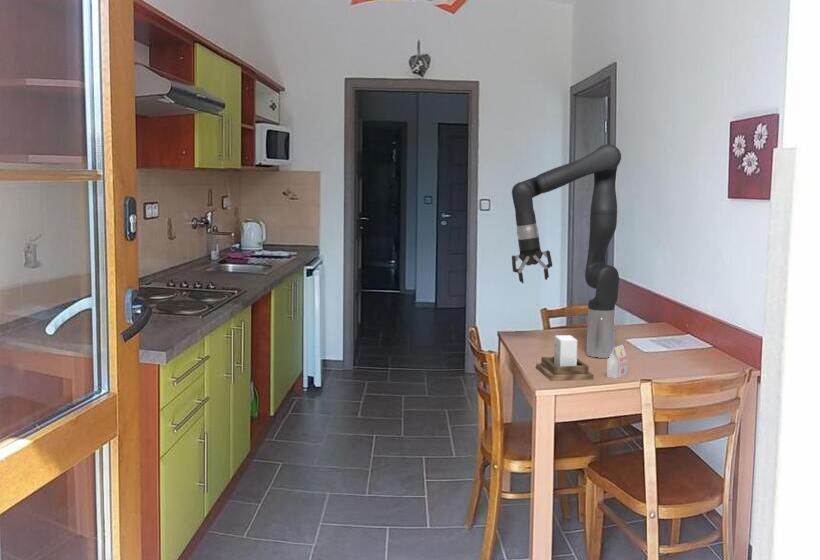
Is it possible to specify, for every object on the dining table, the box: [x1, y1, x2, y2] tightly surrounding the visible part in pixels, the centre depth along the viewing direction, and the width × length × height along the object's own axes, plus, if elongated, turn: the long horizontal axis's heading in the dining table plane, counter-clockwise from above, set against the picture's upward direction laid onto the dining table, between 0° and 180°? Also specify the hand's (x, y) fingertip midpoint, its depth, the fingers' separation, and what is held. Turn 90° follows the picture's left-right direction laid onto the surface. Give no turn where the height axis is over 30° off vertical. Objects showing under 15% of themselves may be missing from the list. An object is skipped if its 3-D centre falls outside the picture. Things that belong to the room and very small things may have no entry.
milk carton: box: [606, 344, 628, 379], centre depth 235 cm, size 4×7×10 cm, turn 139°
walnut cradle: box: [535, 356, 595, 382], centre depth 238 cm, size 14×16×4 cm
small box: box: [553, 334, 578, 366], centre depth 238 cm, size 8×6×10 cm
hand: (534, 281), depth 264 cm, fingers open, 8 cm apart
